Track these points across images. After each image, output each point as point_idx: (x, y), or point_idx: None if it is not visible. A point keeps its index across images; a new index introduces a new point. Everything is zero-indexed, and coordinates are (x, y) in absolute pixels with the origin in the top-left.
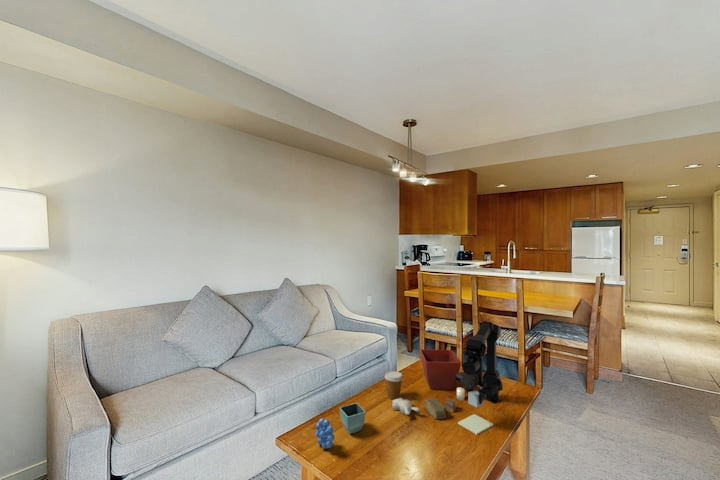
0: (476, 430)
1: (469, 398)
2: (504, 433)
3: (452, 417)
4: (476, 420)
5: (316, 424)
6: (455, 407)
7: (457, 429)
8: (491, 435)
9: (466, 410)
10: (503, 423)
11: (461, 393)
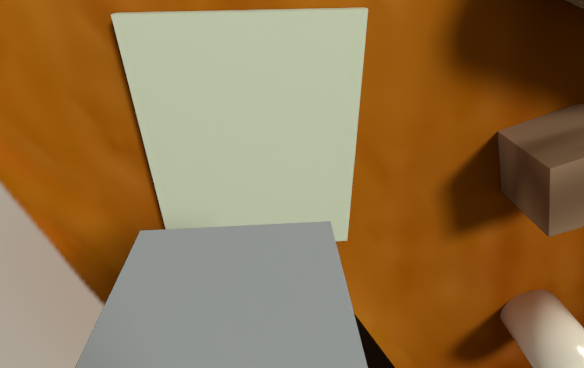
0: (154, 55)
1: (316, 307)
2: (54, 229)
3: (461, 57)
4: (276, 188)
5: None
6: (509, 195)
7: None
8: (60, 126)
9: (422, 238)
10: None
11: (547, 344)
